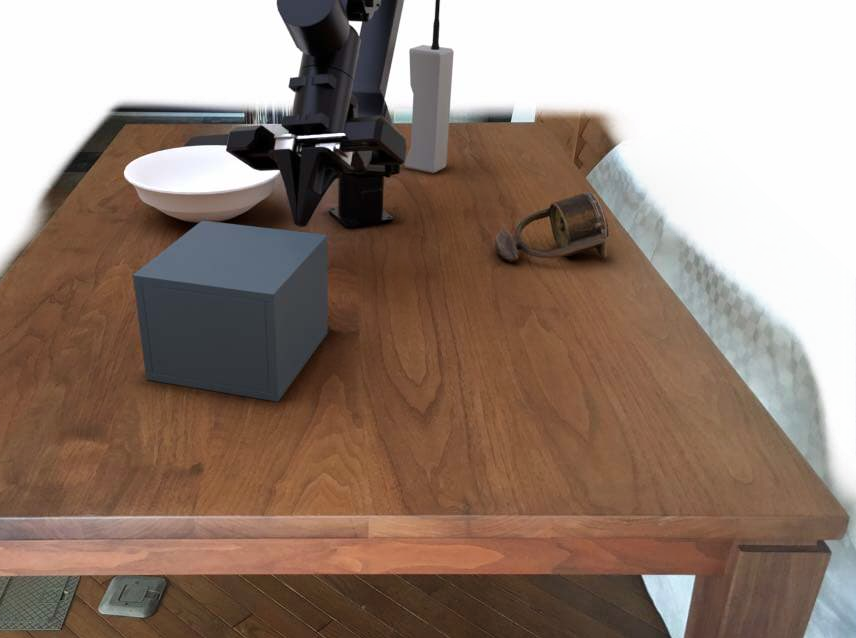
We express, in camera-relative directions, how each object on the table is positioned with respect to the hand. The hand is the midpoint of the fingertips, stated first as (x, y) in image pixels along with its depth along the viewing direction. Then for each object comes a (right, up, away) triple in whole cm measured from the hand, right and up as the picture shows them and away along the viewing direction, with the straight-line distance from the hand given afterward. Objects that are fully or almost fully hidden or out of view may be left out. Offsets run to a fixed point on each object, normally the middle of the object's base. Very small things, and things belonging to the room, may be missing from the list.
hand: (299, 225), depth 91 cm
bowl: (-13, +6, +25) cm, 29 cm away
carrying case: (-11, +19, +46) cm, 51 cm away
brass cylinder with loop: (+29, -1, +14) cm, 32 cm away
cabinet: (-5, -14, -7) cm, 16 cm away
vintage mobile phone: (+17, +17, +42) cm, 48 cm away
